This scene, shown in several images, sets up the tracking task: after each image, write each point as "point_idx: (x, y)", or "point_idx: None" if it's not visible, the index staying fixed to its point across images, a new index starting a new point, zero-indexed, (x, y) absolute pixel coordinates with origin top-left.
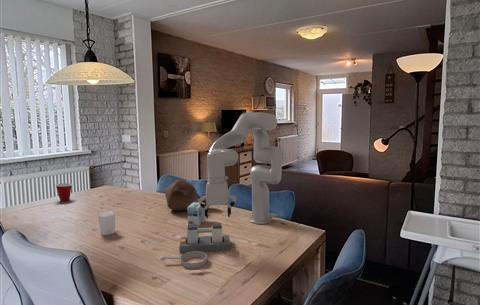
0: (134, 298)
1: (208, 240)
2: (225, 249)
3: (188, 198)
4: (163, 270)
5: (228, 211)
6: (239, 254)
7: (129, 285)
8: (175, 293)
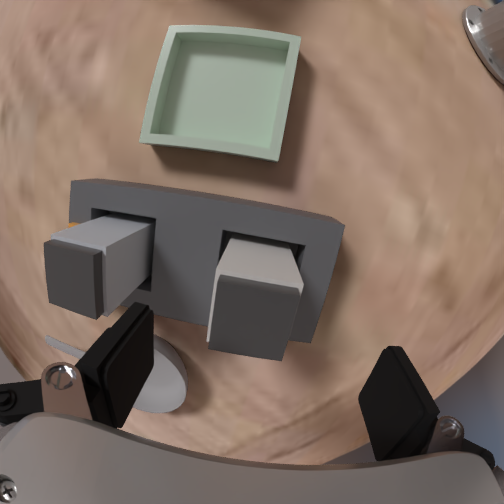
0: None
1: (202, 269)
2: None
3: None
4: None
5: (374, 442)
6: (332, 343)
7: (35, 374)
8: None
